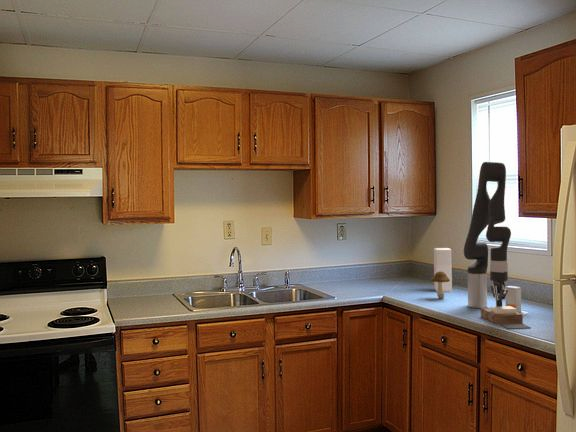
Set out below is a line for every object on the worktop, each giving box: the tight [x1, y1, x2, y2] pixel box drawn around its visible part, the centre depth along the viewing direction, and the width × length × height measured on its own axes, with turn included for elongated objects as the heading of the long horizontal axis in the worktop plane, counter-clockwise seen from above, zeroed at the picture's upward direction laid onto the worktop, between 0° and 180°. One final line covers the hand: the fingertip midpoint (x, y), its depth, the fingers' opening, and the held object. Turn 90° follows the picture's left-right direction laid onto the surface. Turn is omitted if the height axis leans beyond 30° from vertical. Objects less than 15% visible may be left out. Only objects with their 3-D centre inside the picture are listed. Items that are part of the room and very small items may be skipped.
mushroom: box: [429, 272, 450, 300], centre depth 303 cm, size 9×11×15 cm
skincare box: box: [505, 285, 522, 313], centre depth 267 cm, size 6×4×12 cm
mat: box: [498, 323, 531, 330], centre depth 238 cm, size 8×10×1 cm
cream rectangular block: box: [490, 305, 516, 314], centre depth 248 cm, size 6×9×2 cm, turn 93°
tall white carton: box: [433, 247, 453, 293], centre depth 328 cm, size 9×9×25 cm
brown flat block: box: [480, 307, 524, 325], centre depth 250 cm, size 16×12×4 cm
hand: (499, 307), depth 252 cm, fingers closed
